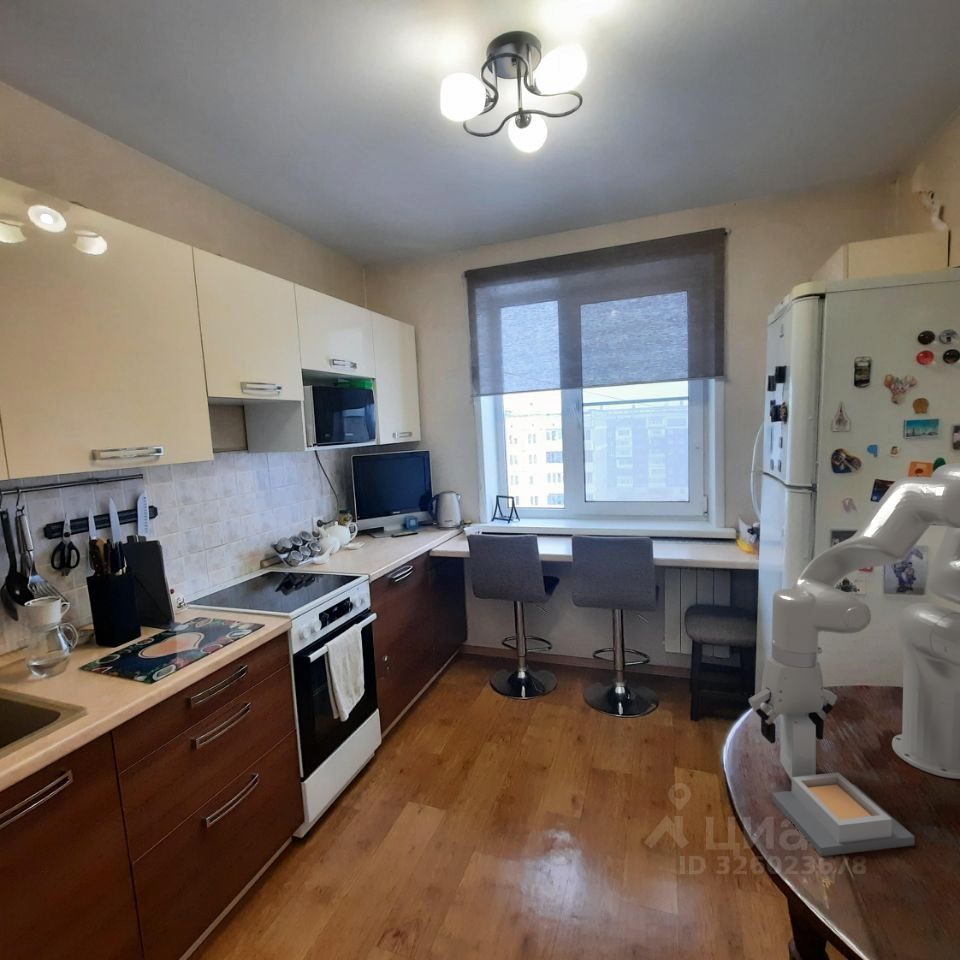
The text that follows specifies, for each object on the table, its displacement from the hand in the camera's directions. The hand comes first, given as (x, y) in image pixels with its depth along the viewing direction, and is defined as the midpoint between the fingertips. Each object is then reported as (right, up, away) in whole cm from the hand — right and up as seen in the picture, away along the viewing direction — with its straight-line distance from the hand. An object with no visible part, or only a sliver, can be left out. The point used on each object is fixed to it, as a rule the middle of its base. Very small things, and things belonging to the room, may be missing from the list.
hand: (791, 737), depth 96 cm
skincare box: (+2, -8, +1) cm, 8 cm away
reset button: (+1, -7, -11) cm, 13 cm away
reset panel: (+1, -9, -11) cm, 14 cm away
